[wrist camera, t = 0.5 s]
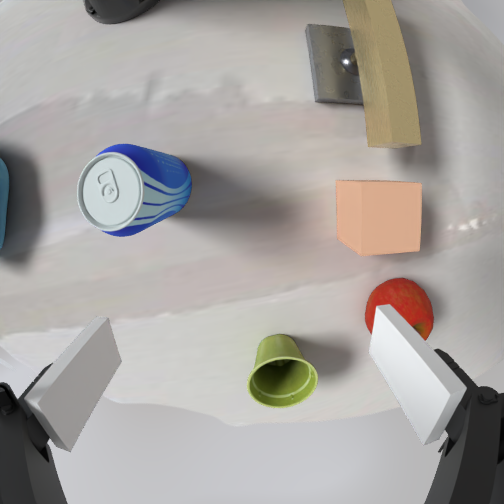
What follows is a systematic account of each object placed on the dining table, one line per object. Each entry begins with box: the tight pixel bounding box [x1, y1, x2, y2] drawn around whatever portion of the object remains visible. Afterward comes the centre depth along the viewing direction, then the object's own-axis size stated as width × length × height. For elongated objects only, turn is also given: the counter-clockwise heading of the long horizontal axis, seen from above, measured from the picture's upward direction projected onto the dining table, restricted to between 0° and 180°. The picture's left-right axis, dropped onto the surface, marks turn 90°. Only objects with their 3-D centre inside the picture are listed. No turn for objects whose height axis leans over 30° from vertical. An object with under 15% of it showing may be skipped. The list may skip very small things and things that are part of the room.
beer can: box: [77, 144, 192, 237], centre depth 28 cm, size 8×8×16 cm
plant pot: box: [247, 334, 318, 408], centre depth 38 cm, size 9×9×9 cm
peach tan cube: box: [336, 180, 422, 256], centre depth 32 cm, size 8×8×9 cm
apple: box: [365, 278, 434, 341], centre depth 36 cm, size 10×10×10 cm
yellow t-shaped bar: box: [343, 0, 421, 149], centre depth 24 cm, size 26×4×10 cm, turn 4°
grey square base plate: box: [305, 24, 364, 105], centre depth 30 cm, size 12×12×2 cm
